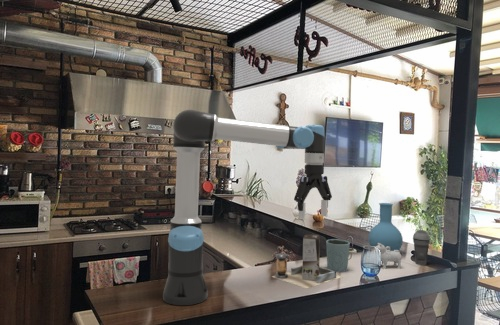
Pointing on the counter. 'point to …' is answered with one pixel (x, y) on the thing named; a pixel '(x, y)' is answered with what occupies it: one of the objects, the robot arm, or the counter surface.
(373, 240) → the vase
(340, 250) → the green mug
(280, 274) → the bobbin
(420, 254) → the beverage cup
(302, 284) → the notched board
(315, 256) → the coffee box
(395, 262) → the white animal figurine
